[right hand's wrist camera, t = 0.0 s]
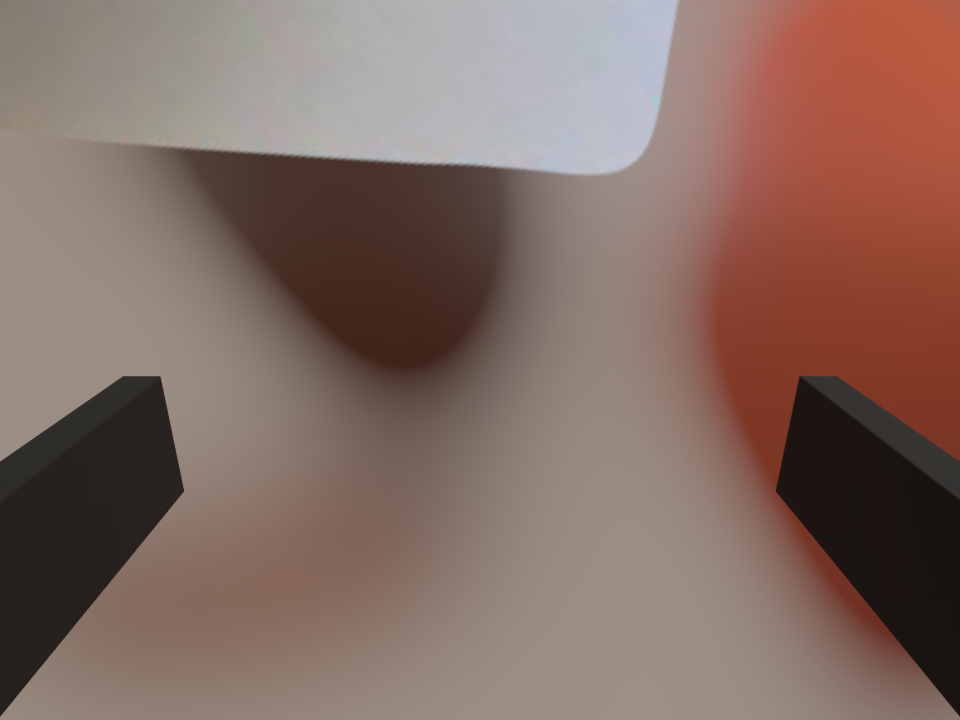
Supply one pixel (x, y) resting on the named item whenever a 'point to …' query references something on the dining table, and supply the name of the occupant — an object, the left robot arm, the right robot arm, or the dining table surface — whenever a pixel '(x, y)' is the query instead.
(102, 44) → the dining table surface
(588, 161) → the dining table surface
